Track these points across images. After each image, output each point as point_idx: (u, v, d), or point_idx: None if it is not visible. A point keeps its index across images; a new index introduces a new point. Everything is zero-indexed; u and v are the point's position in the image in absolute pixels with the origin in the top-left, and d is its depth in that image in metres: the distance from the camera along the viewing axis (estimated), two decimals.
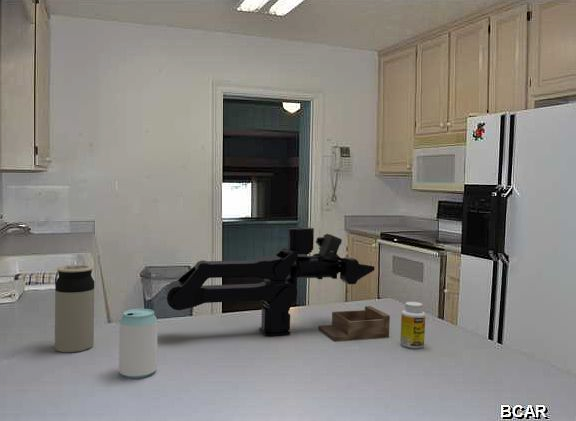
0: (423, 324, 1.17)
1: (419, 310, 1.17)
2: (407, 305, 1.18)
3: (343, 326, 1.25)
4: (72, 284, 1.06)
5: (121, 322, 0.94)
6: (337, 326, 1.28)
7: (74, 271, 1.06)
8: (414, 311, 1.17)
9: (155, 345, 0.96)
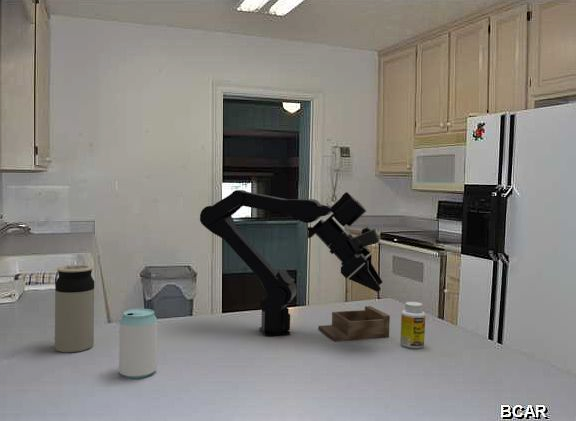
0: (423, 324, 1.17)
1: (419, 310, 1.17)
2: (407, 305, 1.18)
3: (343, 326, 1.25)
4: (72, 284, 1.06)
5: (121, 322, 0.94)
6: (337, 326, 1.28)
7: (74, 271, 1.06)
8: (414, 311, 1.17)
9: (155, 345, 0.96)
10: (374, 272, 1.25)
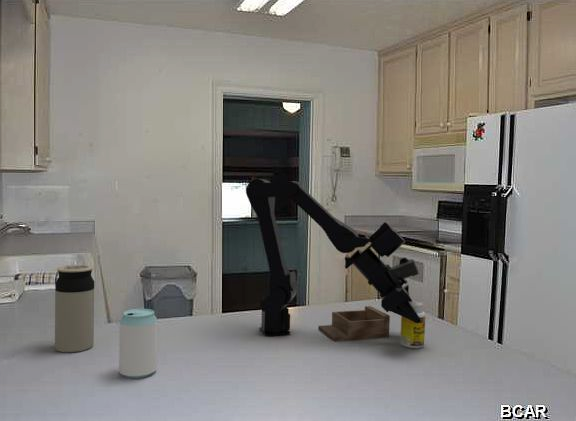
0: (423, 324, 1.17)
1: (419, 310, 1.17)
2: None
3: (343, 326, 1.25)
4: (72, 284, 1.06)
5: (121, 322, 0.94)
6: (337, 326, 1.28)
7: (74, 271, 1.06)
8: None
9: (155, 345, 0.96)
10: None
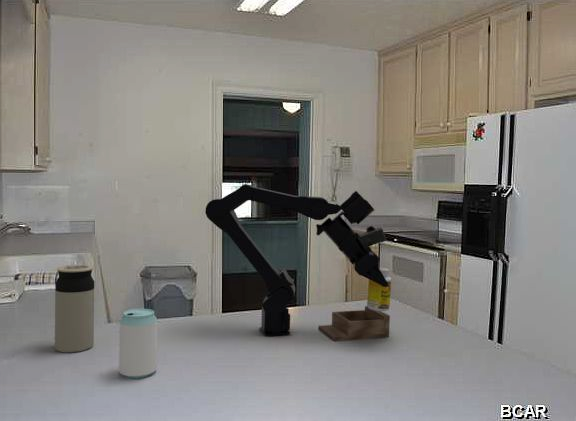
0: (389, 288, 1.23)
1: (386, 274, 1.23)
2: None
3: (343, 326, 1.25)
4: (72, 284, 1.06)
5: (121, 322, 0.94)
6: (337, 326, 1.28)
7: (74, 271, 1.06)
8: None
9: (155, 345, 0.96)
10: None
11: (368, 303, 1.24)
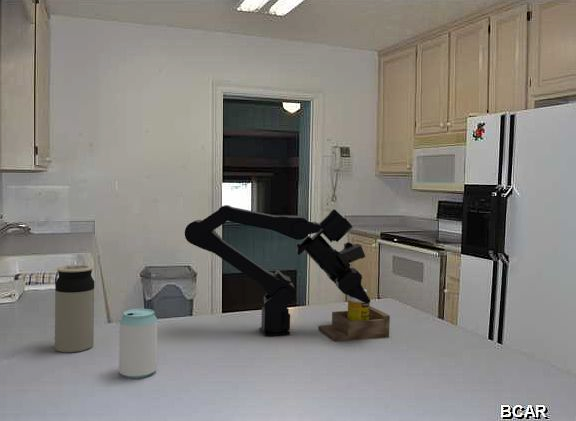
0: (368, 308, 1.27)
1: None
2: None
3: (343, 326, 1.25)
4: (72, 284, 1.06)
5: (121, 322, 0.94)
6: (337, 326, 1.28)
7: (74, 271, 1.06)
8: None
9: (155, 345, 0.96)
10: None
11: None
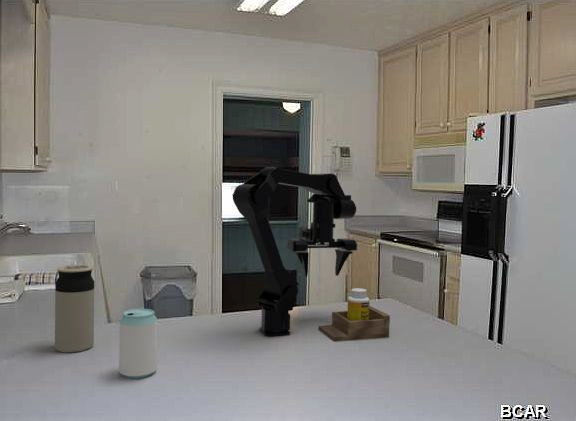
0: (368, 308, 1.27)
1: (364, 295, 1.26)
2: (354, 291, 1.26)
3: (343, 326, 1.25)
4: (72, 284, 1.06)
5: (121, 322, 0.94)
6: (337, 326, 1.28)
7: (74, 271, 1.06)
8: (360, 297, 1.26)
9: (155, 345, 0.96)
10: None
11: None
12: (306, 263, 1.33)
